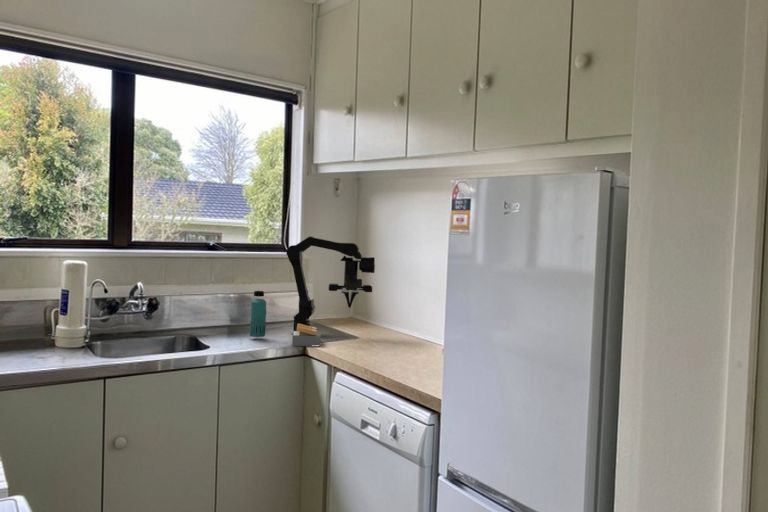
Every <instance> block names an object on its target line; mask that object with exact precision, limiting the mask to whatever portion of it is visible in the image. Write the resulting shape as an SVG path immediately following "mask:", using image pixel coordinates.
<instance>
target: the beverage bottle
mask: <svg viewBox="0 0 768 512" xmlns="http://www.w3.org/2000/svg"><path fill="white" fill-rule="evenodd" d="M253 296H254V297H265V291H263V290H254V292H253ZM266 318H267V301H266V300H265V298H253V299H252V300H251V301H250V319H249V323H250V324H249V336H250V337H253V338H262V337H265V336H266V330H267V328H266V327H267V326H266V323H267V321H266Z"/></svg>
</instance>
